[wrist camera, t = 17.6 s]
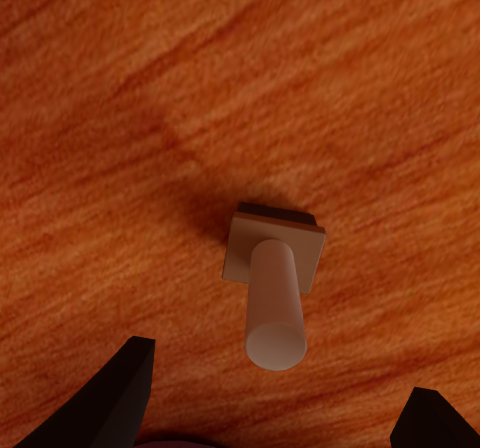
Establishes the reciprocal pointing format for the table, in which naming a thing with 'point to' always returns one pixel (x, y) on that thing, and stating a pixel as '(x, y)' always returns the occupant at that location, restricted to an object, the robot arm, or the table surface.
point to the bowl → (172, 445)
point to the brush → (273, 279)
